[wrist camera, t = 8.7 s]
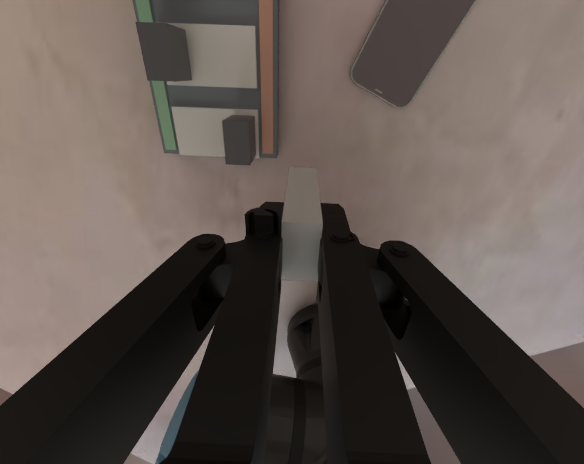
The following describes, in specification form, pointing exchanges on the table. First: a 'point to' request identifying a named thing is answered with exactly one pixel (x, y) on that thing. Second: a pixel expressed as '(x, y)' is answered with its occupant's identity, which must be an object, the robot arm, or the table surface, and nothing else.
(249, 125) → the block
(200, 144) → the panel
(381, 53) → the smartphone
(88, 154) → the table surface
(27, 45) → the table surface
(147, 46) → the block
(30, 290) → the table surface
